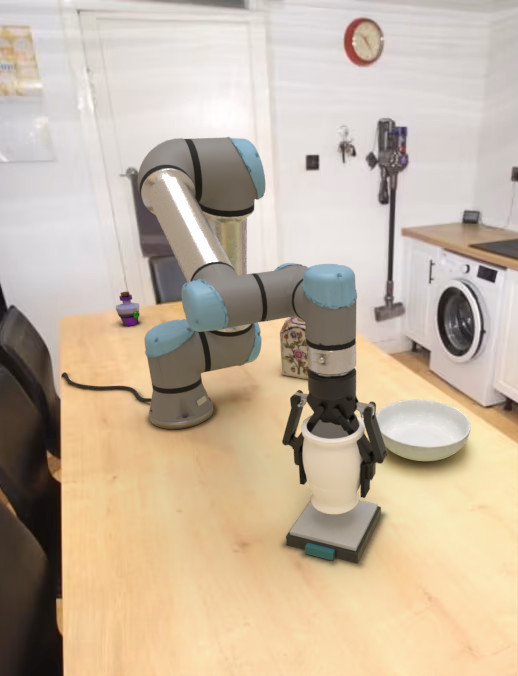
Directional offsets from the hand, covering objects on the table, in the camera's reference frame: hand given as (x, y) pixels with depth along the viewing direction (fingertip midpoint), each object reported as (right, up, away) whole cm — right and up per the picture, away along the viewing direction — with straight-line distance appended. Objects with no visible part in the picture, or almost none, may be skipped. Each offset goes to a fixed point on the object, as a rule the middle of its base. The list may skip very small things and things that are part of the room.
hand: (334, 486), depth 92 cm
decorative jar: (-10, +21, +67) cm, 71 cm away
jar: (0, -3, +1) cm, 3 cm away
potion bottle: (-78, +39, +106) cm, 137 cm away
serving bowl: (+18, +3, +29) cm, 34 cm away
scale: (0, -9, +4) cm, 9 cm away
